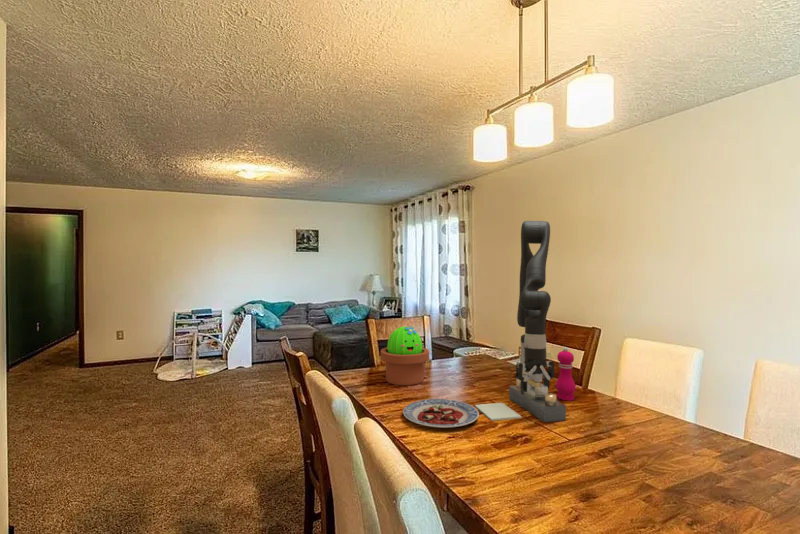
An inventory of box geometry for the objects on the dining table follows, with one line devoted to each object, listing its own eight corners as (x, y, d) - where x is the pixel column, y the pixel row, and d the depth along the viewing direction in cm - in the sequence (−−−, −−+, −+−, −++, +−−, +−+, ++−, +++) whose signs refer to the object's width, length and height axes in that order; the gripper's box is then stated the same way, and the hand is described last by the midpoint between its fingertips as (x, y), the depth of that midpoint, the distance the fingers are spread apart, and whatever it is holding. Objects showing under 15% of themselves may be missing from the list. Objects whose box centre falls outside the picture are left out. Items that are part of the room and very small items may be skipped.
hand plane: (509, 398, 154) (509, 370, 154) (527, 397, 156) (527, 369, 156) (544, 422, 131) (544, 389, 131) (565, 420, 132) (565, 387, 132)
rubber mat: (474, 406, 146) (474, 404, 146) (502, 404, 148) (502, 402, 148) (491, 420, 132) (491, 419, 132) (521, 418, 134) (521, 416, 134)
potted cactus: (375, 375, 187) (375, 323, 187) (419, 372, 194) (419, 321, 194) (388, 389, 166) (388, 330, 166) (436, 384, 173) (436, 327, 173)
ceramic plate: (478, 436, 120) (478, 426, 120) (396, 430, 125) (396, 420, 125) (479, 407, 146) (479, 399, 146) (410, 402, 151) (410, 394, 151)
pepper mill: (572, 395, 158) (572, 345, 158) (578, 401, 151) (578, 349, 151) (553, 394, 159) (553, 345, 159) (558, 400, 152) (558, 348, 152)
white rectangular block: (523, 392, 146) (523, 379, 146) (535, 391, 148) (535, 378, 148) (535, 399, 139) (535, 385, 139) (547, 398, 140) (547, 384, 140)
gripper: (546, 343, 148) (547, 386, 148) (512, 344, 145) (512, 388, 145) (558, 346, 141) (559, 392, 141) (522, 348, 138) (522, 395, 138)
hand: (535, 390), depth 143 cm, fingers open, 8 cm apart
